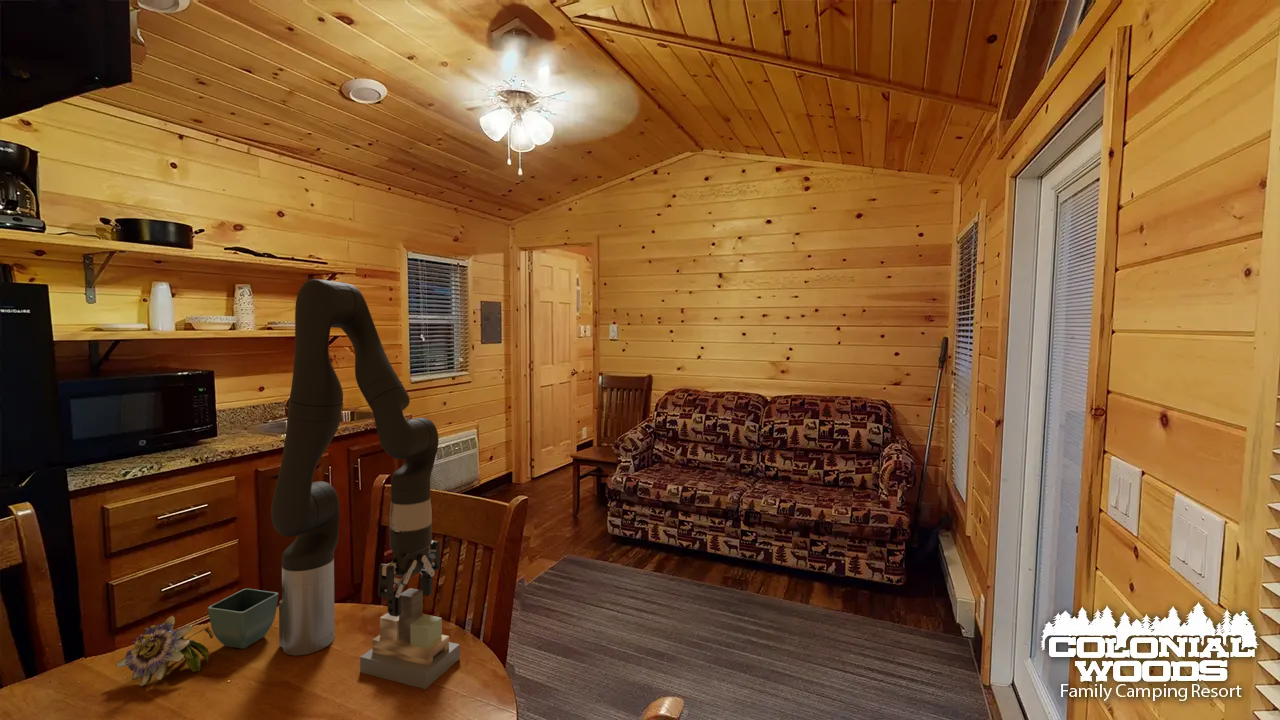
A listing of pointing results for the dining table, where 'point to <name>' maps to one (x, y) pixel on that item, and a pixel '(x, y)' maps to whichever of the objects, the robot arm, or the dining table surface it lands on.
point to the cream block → (389, 627)
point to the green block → (426, 631)
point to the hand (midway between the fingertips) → (411, 604)
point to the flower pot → (243, 617)
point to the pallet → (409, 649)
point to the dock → (409, 667)
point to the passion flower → (163, 651)
